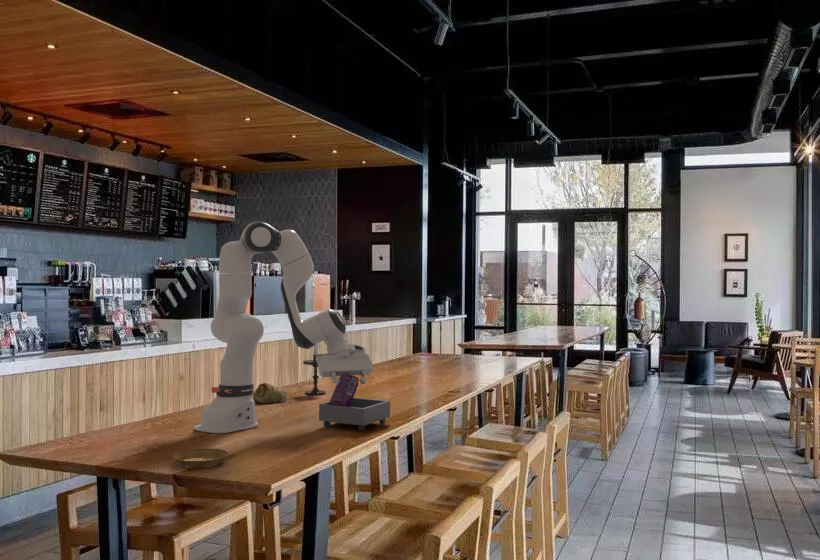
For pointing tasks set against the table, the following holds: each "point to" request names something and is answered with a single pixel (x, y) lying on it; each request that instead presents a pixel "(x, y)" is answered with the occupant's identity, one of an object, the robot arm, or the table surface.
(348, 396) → the beverage can
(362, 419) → the parts cart
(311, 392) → the candlestick
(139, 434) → the table surface
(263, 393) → the olive green rounded lump
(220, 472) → the table surface
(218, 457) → the plant saucer
